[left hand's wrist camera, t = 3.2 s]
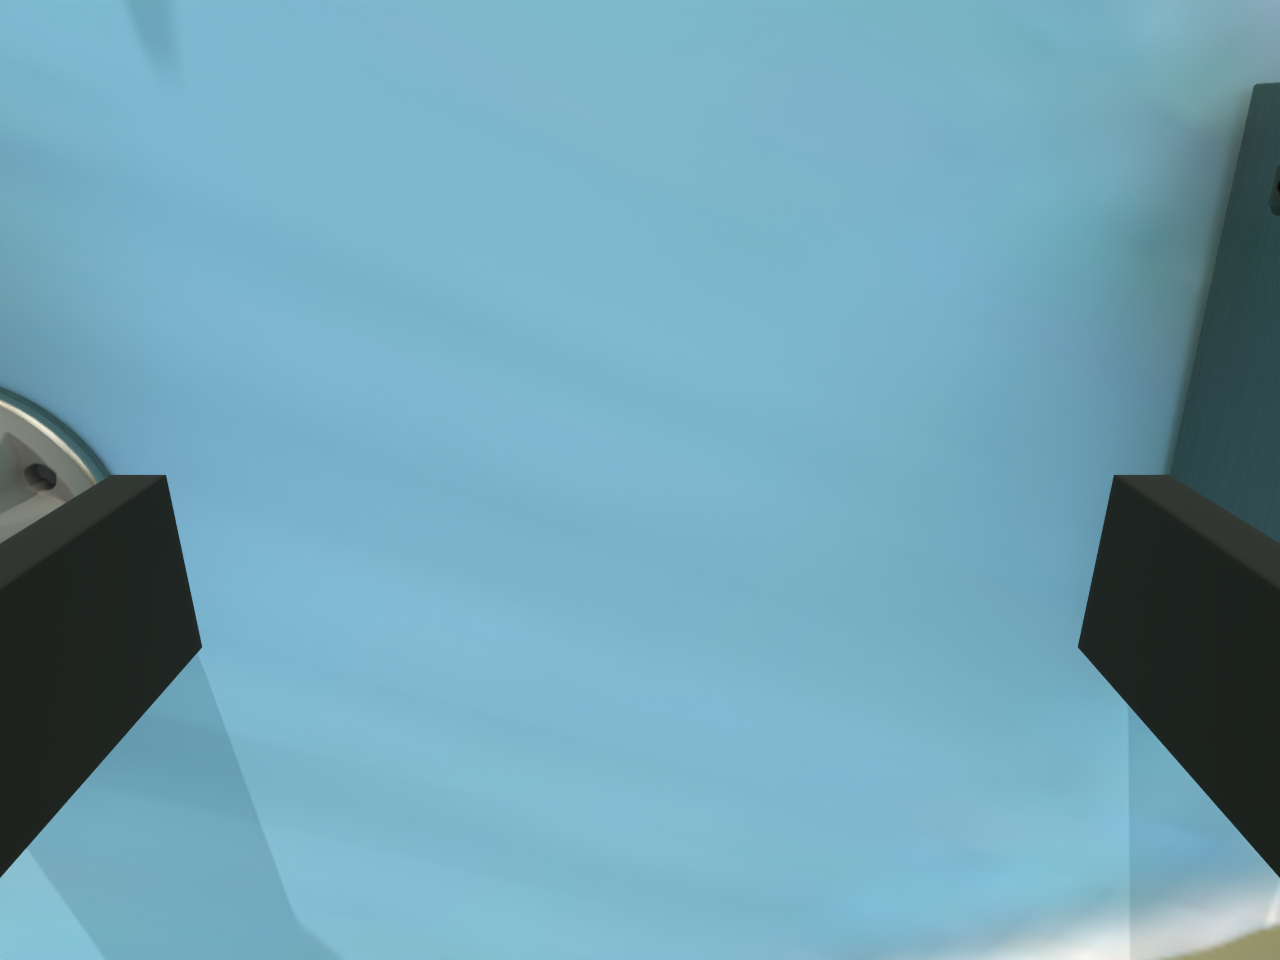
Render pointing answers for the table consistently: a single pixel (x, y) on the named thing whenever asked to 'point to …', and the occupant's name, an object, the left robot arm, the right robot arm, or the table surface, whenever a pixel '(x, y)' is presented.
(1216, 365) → the bar
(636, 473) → the table surface
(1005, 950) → the table surface
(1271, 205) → the right robot arm
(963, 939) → the table surface
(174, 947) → the table surface
